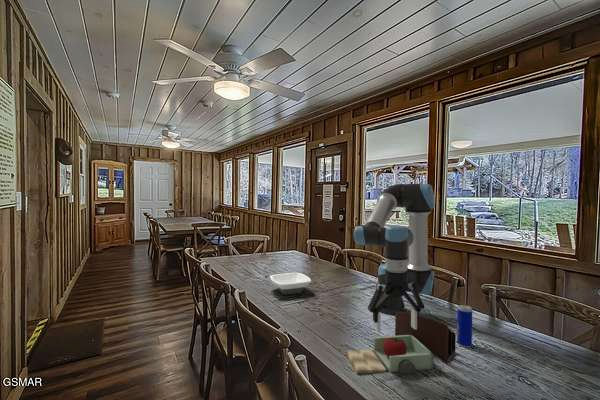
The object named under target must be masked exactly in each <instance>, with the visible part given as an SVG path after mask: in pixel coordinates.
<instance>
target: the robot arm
mask: <svg viewBox="0 0 600 400" xmlns="http://www.w3.org/2000/svg"><path fill="white" fill-rule="evenodd" d="M435 202H436V201H435V194H434V189H433V186H432V185H431V184H430V183H421V182H420V183H396V184H393V185H390V186H389V187H387V188H384V190H383V191H382V192H380V194H378V197H377V198H376V204H375V205H374V208H373V209H372V211H371V213H370V215H369V216H368V218H367V220H366V222H365V224H364V225H357V226H355V228H354V230H353V240H354V242H355V244H357V245H363V246H371V247H373V246H374V247H382V248H385V253H384V257H385V259H384V260H385V263H383V264H381V265H379V267H378V271H377V272H378V273H377V283H376V288H375V292H374V294H373V296H372V298H371V300H370V302H369V304H368V306H367V310H368V311H369V312H370V313H372V321H373V322H374V328H375V331H376V333H378V334H379V333H381V313H382V314H387V315H396V312H398V311H400V312H406V305H405V302H404V299H403V297H404V298H405V299H406V301H407V302H408V303H409V304H410V305H411V307H412V308H411V309H410V313H411V327H412V328H414V329H415V330H417V319H419V315H420V313H421V311H422V309H425V305H424V302H423V300H422V298H421V296H420V295H426V296H427V295H430V294H431V293H432V290H433V285H434V279H435V271H433V270H432V266H431V265H430V264H429V263H428V262H429V261H428V260H429V259H428V258H429V257H428V256H429V255H428V250H429V249H428V246H429V244H428V242H429V239H428V234H429V233H428V232H429V230H428V226H429V225H428V223H429V222H428V221H429V220H428V219H429V218H428V216H429V214H431V213H432V209H435V205H436V204H435ZM396 208H403V209H404V208H405V209H404V211H405V213H406V214H407V215H408V227H407V226H405V225H388V226H386V223H387V222H388V221H389V220H388V219H389V217H390V215H391V213H392V211H394V210H395V209H396ZM385 226H386V227H385ZM409 293H411V294H412V296H413V298H414V299H412V297H411V296H410V295H409ZM414 300H415V301H414Z"/></svg>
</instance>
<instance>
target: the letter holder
mask: <svg viewBox="0 0 600 400" xmlns="http://www.w3.org/2000/svg"><path fill="white" fill-rule="evenodd" d="M399 335H413V336H414V337H415V338H416V339H417V340H418V341H419V342H420V343H422V344H423V345H424V346H425V347H426V348H427V349H428V350H429V351H431V352H432V353H433V356H435V357H437V358H438V359H440V361H442V362H444V363H447V364H448V363H449V361H451V359H452V357H453V356H454V355H455V353H456V347H457V346H456V342H457V334H456V333H455V332H454V331H453V330H451V329H450V328H449V326H448V325H447V324H445V323H442V322H440V321H438V320H436V319H432V318H430V317H427V316H424V315H420V314H419V319H417V330H415V329H414V328H412V327H411V312H406V311H405V312H400V311H398V312H396V314H395V324H394V336H399Z"/></svg>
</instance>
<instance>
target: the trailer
mask: <svg viewBox="0 0 600 400" xmlns="http://www.w3.org/2000/svg"><path fill="white" fill-rule="evenodd" d="M389 337H393V338H400V339H402V340H403V341H404V342H405V344H406V348H407V351H406V355H395V356H389V357H388V356H387V355H386V354H385V352H384V349H383V345H384V341H385V340H386V339H387V338H389ZM373 350H374V352H375V353H376V354H377V356H378V357H379V358H380V359H381V361H382V362H383V363H384V365H385V366H386V367H387V369H388V370H389V371H388V372H389V373H400V374H401V376H408V375H412V376H413V375H415V374H416V371H421V370H423V371H424V370H433V369H434V355H433V353H432V352H431V351H429V350H428V349H427V348H426V347H425V346H424V345H423V344H422V343H420V342H419V341H418V340H417V339H416V338H415V337H414V336H413V335H399V336H395V335H389V336H388V335H387V336H376V337H375V336H374V337H373Z"/></svg>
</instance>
